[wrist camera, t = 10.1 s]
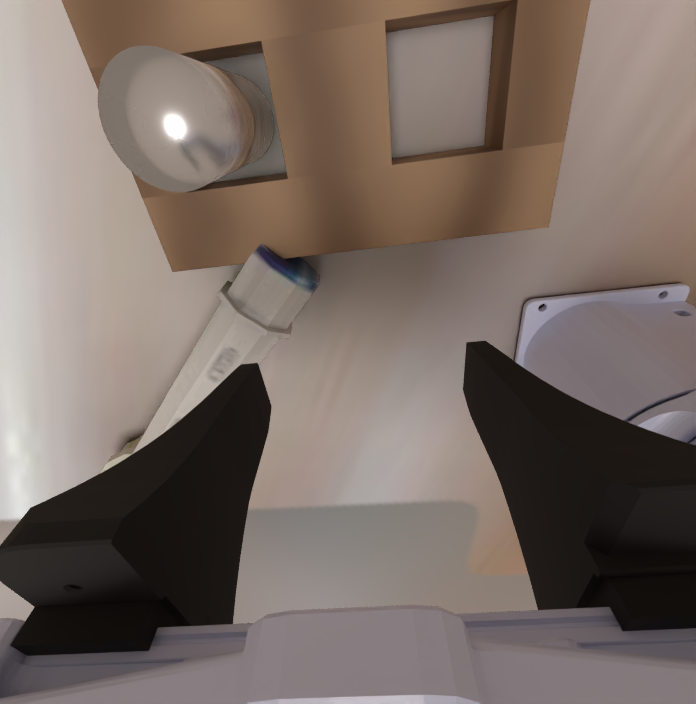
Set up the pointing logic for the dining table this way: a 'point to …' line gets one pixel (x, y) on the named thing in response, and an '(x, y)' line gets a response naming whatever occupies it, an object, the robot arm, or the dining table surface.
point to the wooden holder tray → (355, 123)
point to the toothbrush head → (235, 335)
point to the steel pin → (181, 118)
